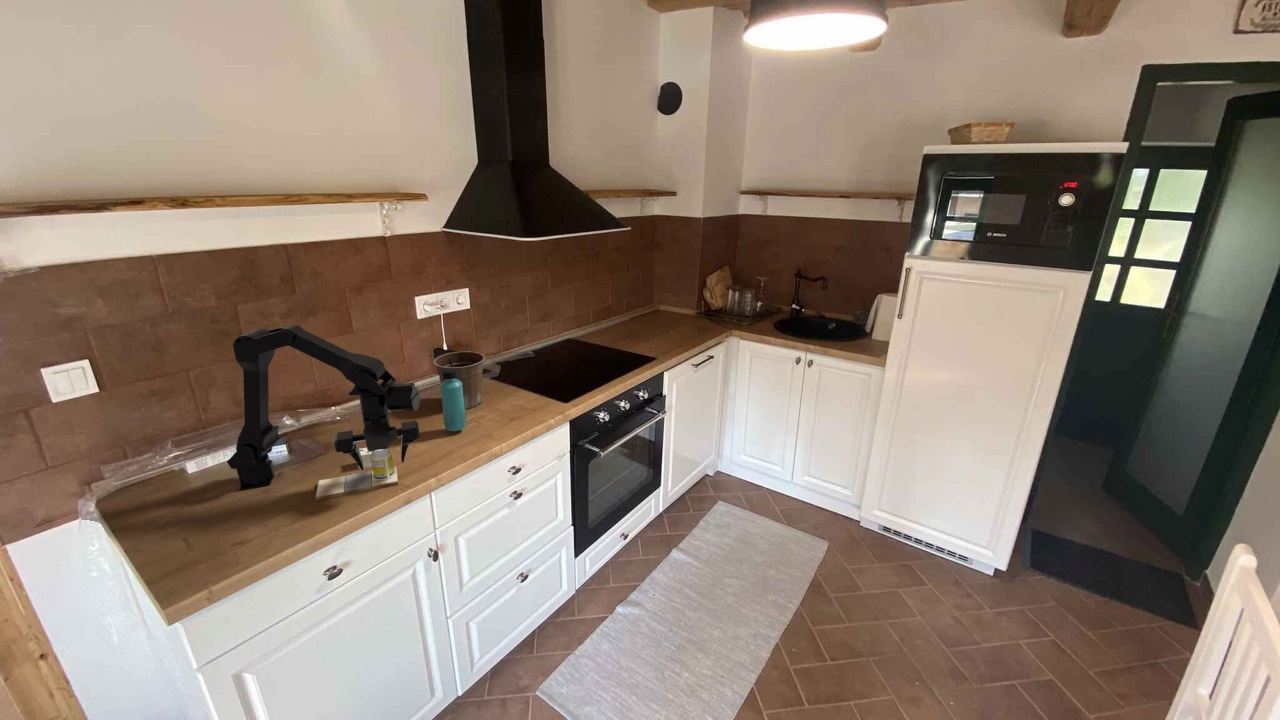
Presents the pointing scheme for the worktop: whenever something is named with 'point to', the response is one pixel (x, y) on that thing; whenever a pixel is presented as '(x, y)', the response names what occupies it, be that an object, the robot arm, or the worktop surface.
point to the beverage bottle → (452, 401)
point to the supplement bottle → (382, 464)
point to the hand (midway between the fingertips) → (382, 465)
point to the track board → (352, 484)
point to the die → (365, 457)
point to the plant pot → (464, 373)
